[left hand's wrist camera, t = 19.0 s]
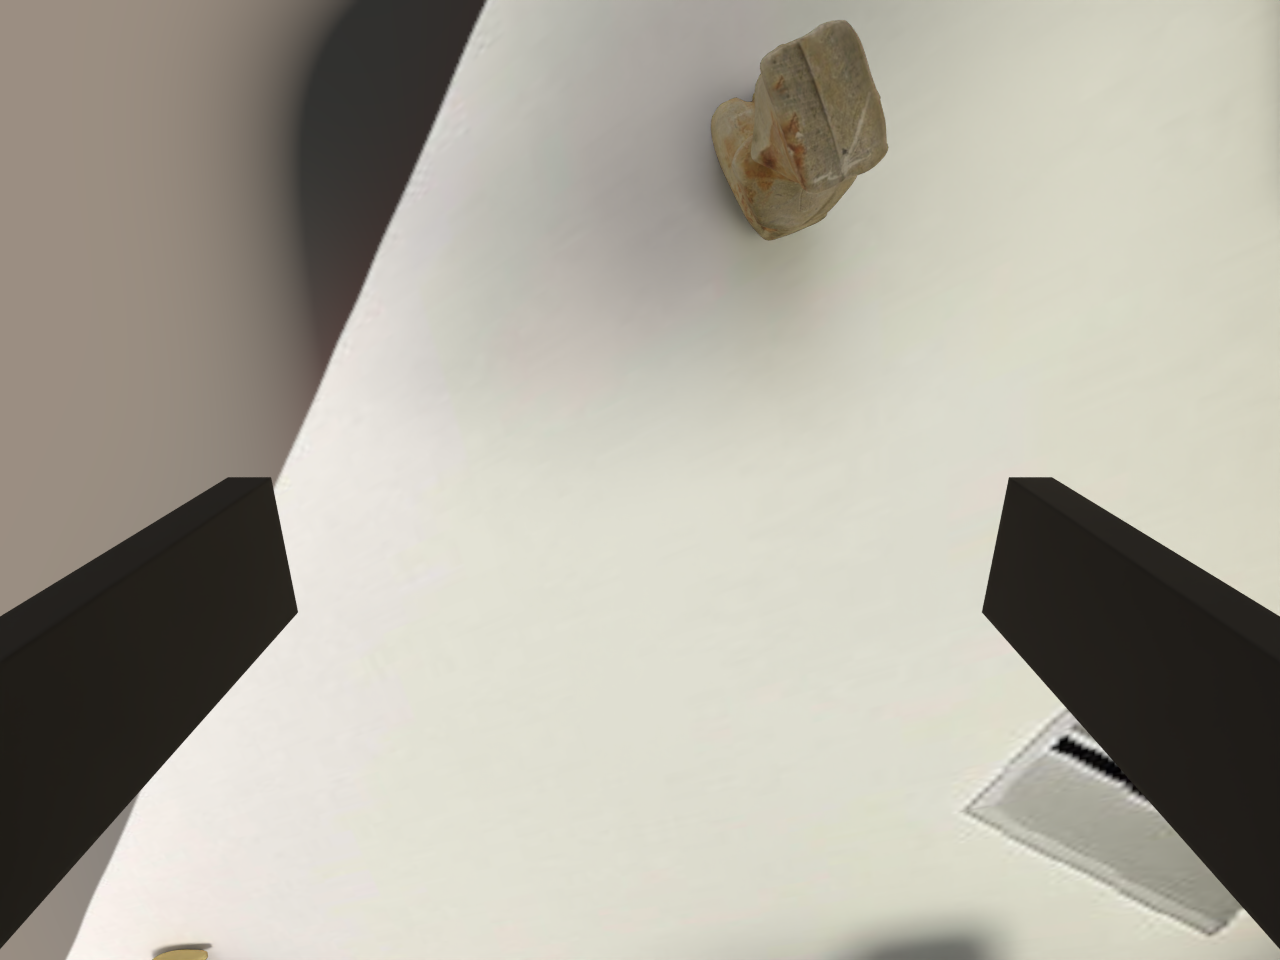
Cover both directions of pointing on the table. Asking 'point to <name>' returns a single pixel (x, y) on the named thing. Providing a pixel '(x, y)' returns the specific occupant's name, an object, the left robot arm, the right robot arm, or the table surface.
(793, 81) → the sculpture
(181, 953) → the toy gun
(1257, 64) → the table surface
